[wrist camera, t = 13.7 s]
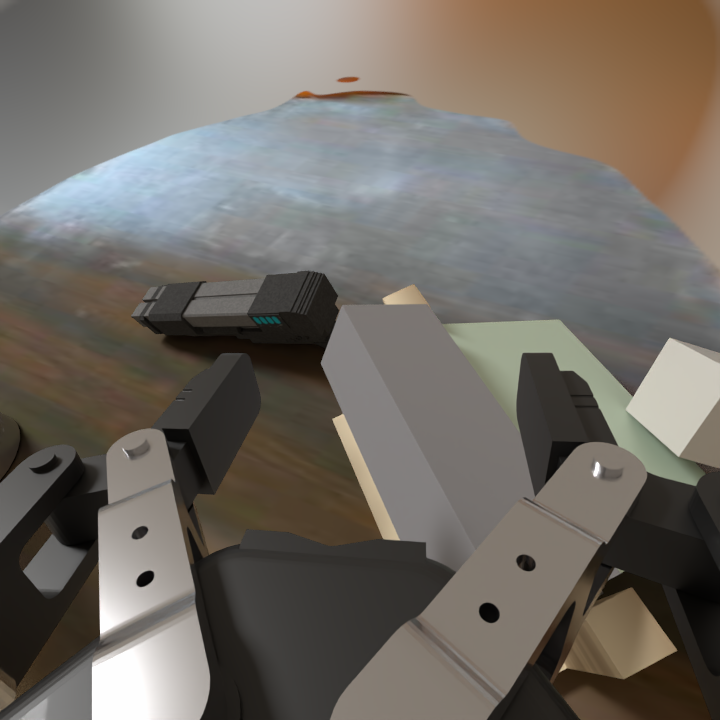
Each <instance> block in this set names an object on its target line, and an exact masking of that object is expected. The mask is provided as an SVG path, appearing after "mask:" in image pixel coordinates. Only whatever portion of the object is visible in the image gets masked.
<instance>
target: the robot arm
mask: <svg viewBox="0 0 720 720" xmlns="http://www.w3.org/2000/svg"><path fill="white" fill-rule="evenodd" d="M260 404H261V397H260V392H259V388H258V384H257V381H256V377H255V373H254V370H253V366H252V362H251V359H250V357H249V355H248V354H246V353H223V354H221V355H220V356H219V357H218V358H217V359H216V361H215V362H214V363H213V364H212V366H211V367H210V368H209V369H205V370H204V371H202V372H201V373H199V374H198V375H196V376H195V377H194V378H192V379H191V380H190V382H189V383H188V384H187V385H186V386H185V388H184V389H183V391H181V392H180V394H179V395H178V396H177V397H176V400H174V401H173V402H172V403H171V405H170V406H169V407H168V408H167V409H166V411H165V412H164V413H163V414H162V415H161V417H160V418H159V419H158V420H157V421H156V423H155V424H154V425H153V426H152V427H151V429H142V430H138V431H135V432H132V433H130V434H128V435H126V436H124V437H122V438H121V439H119V440H118V441H117V442H116V443H114V444H113V445H112V447H111V448H110V449H109V451H108V453H107V454H103V455H98V456H93V457H88V458H83V459H80V457H79V455H78V454H77V452H76V450H75V449H74V448H73V447H72V446H69V445H56V446H52V447H48V448H46V449H43V450H41V451H38V452H36V453H35V454H33V455H31V456H30V457H28V458H27V459H25V460H24V461H23V462H22V463H20V464H19V465H18V466H17V467H16V468H15V469H14V470H13V471H12V472H11V473H10V474H9V475H8V476H7V477H6V478H5V479H4V480H3V481H2V482H1V483H0V720H580V719H579V718H578V716H577V715H576V714H575V713H574V711H573V710H572V709H571V707H570V706H569V705H568V704H567V702H566V701H565V700H564V699H563V697H562V696H561V695H560V694H559V692H558V691H557V690H556V689H555V687H554V686H553V685H552V684H553V682H554V680H555V678H556V677H557V675H558V673H559V671H560V670H561V668H562V666H563V664H564V662H565V660H566V658H567V656H568V654H569V652H570V650H571V648H572V646H573V643H574V641H575V639H576V636H577V634H578V632H579V630H580V628H581V626H582V624H583V623H584V621H585V619H586V617H587V616H588V614H589V612H590V610H591V609H592V607H593V605H594V603H595V602H596V600H597V598H598V596H599V595H600V593H601V591H602V589H603V588H604V586H605V584H606V582H607V581H608V579H609V577H610V575H611V574H612V572H613V570H614V568H617V569H620V570H623V571H626V572H629V573H632V574H634V575H637V576H640V577H643V578H646V579H649V580H652V581H654V582H657V583H660V584H662V587H663V589H664V592H665V595H666V597H667V600H668V603H669V606H670V608H671V611H672V614H673V616H674V619H675V622H676V624H677V627H678V630H679V632H680V635H681V638H682V640H683V643H684V646H685V648H686V651H687V654H688V656H689V659H690V662H691V665H692V667H693V670H694V673H695V675H696V678H697V681H698V683H699V686H700V689H701V691H702V694H703V697H704V699H705V702H706V705H707V707H708V710H709V713H710V716H711V718H712V720H720V472H712V473H708V474H706V475H704V476H702V477H701V478H700V479H699V481H698V483H697V485H696V486H694V485H690V484H686V483H682V482H678V481H674V480H670V479H666V478H663V477H659V476H656V475H654V474H651V473H649V472H647V471H646V468H645V466H644V465H643V463H642V462H641V461H640V460H639V459H638V458H637V457H636V456H635V455H634V454H632V453H631V452H629V451H628V450H626V449H624V448H622V447H619V446H618V444H617V442H616V440H615V438H614V436H613V434H612V432H611V430H610V428H609V426H608V424H607V422H606V420H605V418H604V416H603V414H602V411H601V409H599V405H598V403H597V401H596V399H595V398H594V397H593V393H592V391H591V389H590V387H589V385H588V383H587V382H586V381H585V380H584V379H583V378H581V377H580V376H579V375H578V374H577V373H575V372H574V371H560V370H559V367H558V365H557V362H556V360H555V357H554V355H553V353H523V354H522V357H521V363H520V372H519V381H518V390H517V399H516V413H517V421H518V425H519V429H520V434H521V438H522V443H523V447H524V451H525V456H526V460H527V464H528V469H529V473H530V477H531V482H532V486H533V490H534V495H535V498H534V499H533V500H532V501H531V500H530V499H528V498H526V497H523V498H521V499H520V500H518V501H517V502H516V503H515V504H514V506H513V507H512V508H511V509H510V510H509V512H508V513H507V514H506V515H505V516H504V517H503V519H502V520H501V521H500V522H499V523H498V524H497V526H496V527H495V528H494V529H493V530H492V531H491V533H490V534H489V535H488V536H487V537H486V538H485V540H484V541H483V542H482V543H481V544H480V545H479V547H478V548H477V549H476V550H475V551H474V553H473V554H472V555H471V556H470V557H469V558H468V560H467V561H466V562H465V563H464V564H463V565H462V567H461V568H460V569H459V570H458V571H457V572H456V571H454V570H453V569H451V568H449V567H448V566H446V565H444V564H442V563H440V562H437V561H435V560H432V559H429V558H427V557H426V542H414V541H400V540H386V539H376V540H370V541H364V542H357V543H351V544H345V545H339V546H327V545H324V544H321V543H318V542H315V541H312V540H309V539H306V538H303V537H300V536H297V535H295V534H292V533H289V532H276V531H262V530H249V529H247V530H246V532H245V535H244V537H243V539H242V542H241V544H238V545H234V546H230V547H227V548H224V549H222V550H219V551H216V552H214V553H212V554H210V555H209V553H208V549H207V546H206V542H205V538H204V535H203V531H202V527H201V523H200V520H199V516H198V512H197V509H196V506H195V504H194V502H193V501H194V499H195V497H196V495H197V494H213V495H215V493H216V491H217V489H218V487H219V485H220V484H221V482H222V480H223V478H224V476H225V474H226V472H227V471H228V469H229V467H230V465H231V463H232V461H233V460H234V458H235V456H236V454H237V452H238V450H239V448H240V447H241V445H242V443H243V441H244V439H245V437H246V436H247V434H248V432H249V430H250V428H251V426H252V424H253V423H254V421H255V419H256V417H257V415H258V413H259V410H260ZM19 442H20V430H19V427H18V424H17V423H16V422H15V421H14V420H13V419H12V418H10V417H8V416H6V415H4V414H2V413H1V412H0V480H1V479H2V477H3V476H4V475H5V473H6V472H7V471H8V469H9V467H10V465H11V464H12V462H13V460H14V458H15V456H16V453H17V450H18V447H19ZM43 522H44V523H45V524H46V525H47V527H48V528H49V530H50V531H51V532H52V535H51V536H50V538H49V539H48V540H47V541H46V543H45V544H44V545H43V547H42V548H41V549H40V550H39V552H38V553H37V554H36V555H35V557H34V558H33V559H32V561H31V562H30V563H29V564H28V566H27V567H26V568H25V569H24V571H22V570H21V568H20V566H19V556H20V553H21V550H22V549H23V547H24V545H25V544H26V543H27V542H28V540H29V539H30V538H31V537H32V536H33V534H34V533H35V532H36V531H37V530H38V528H39V527H40V526H41V525H42V524H43ZM98 561H99V596H100V636H99V637H97V638H96V639H95V640H93V641H92V642H91V643H89V644H88V645H87V646H85V647H84V648H83V649H82V650H80V651H79V652H78V653H76V654H75V655H74V656H72V657H71V658H70V659H68V660H67V661H66V662H64V663H63V664H62V665H61V666H59V667H58V668H57V669H55V670H54V671H53V672H51V673H50V674H49V675H47V676H46V677H45V678H43V679H42V680H41V681H40V682H38V683H37V684H36V685H34V686H33V687H32V688H30V689H29V690H28V691H26V692H25V693H24V694H22V695H21V696H20V697H19V698H17V699H16V700H15V696H16V688H17V686H18V685H19V683H20V682H21V680H22V678H23V677H24V675H25V674H26V672H27V671H28V669H29V668H30V666H31V664H32V663H33V661H34V660H35V658H36V657H37V655H38V654H39V652H40V651H41V649H42V647H43V646H44V644H45V643H46V641H47V640H48V638H49V637H50V635H51V634H52V632H53V630H54V629H55V627H56V626H57V624H58V623H59V621H60V620H61V618H62V617H63V615H64V613H65V612H66V610H67V609H68V607H69V606H70V604H71V603H72V601H73V600H74V598H75V596H76V595H77V593H78V592H79V590H80V589H81V587H82V586H83V584H84V583H85V581H86V579H87V578H88V576H89V575H90V573H91V572H92V570H93V569H94V567H95V566H96V564H97V562H98ZM14 700H15V701H14Z"/></svg>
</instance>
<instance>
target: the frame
mask: <svg viewBox="0 0 720 720" xmlns="http://www.w3.org/2000/svg"><path fill="white" fill-rule="evenodd" d="M383 302H384V305H390V304H428V303H427V301H426V300H425V299H424V297H423V296H422V294H421V293H420V292H419V290H418V289H417V288H416V286H415V285H414V284H413V285H410V286H408V287H406V288H404V289H402V290H400V291H398V292H395V293H393V294H391V295H389V296H387V297H385V298H383ZM428 305H429V304H428ZM429 307H430V306H429ZM332 420H333V422H334V424H335V427H336V429H337V431H338V434H339V436H340V438H341V441H342V443H343V445H344V448H345V450H346V452H347V455H348V457H349V460H350V462H351V464H352V467H353V469H354V471H355V474H356V476H357V478H358V481H359V483H360V485H361V488H362V490H363V492H364V495H365V497H366V499H367V502H368V504H369V506H370V509H371V511H372V514H373V516H374V518H375V521H376V523H377V525H378V528H379V530H380V532H381V535H382V537H383V539H386V540H400V539H399V537H398V535H397V532H396V530H395V528H394V526H393V524H392V521H391V519H390V517H389V515H388V512H387V510H386V508H385V506H384V503H383V501H382V499H381V497H380V494H379V492H378V490H377V488H376V486H375V483H374V481H373V479H372V477H371V474H370V472H369V470H368V468H367V465H366V463H365V461H364V459H363V457H362V454H361V452H360V450H359V448H358V445H357V443H356V441H355V439H354V436H353V434H352V432H351V430H350V428H349V425H348V423H347V421H346V419H345V416H344V414H342V415H340V416H338V417H336V418H334V419H332ZM675 651H677V649H676V648H675V647H674V645H673V644H672V642H671V641H670V640H669V638H668V637H667V635H666V634H665V633H664V631H663V630H662V628H661V627H660V626H659V624H658V623H657V621H656V620H655V619H654V617H653V616H652V615H651V613H650V612H649V610H648V609H647V608H646V606H645V605H644V603H643V602H642V601H641V599H640V598H639V596H638V595H637V594H636V592H635V591H634V589H633V588H632V587H631V588H629V589H626V590H623V591H621V592H618V593H616V594H613V595H610V596H608V597H605V598H602V599H600V600H597V601H596V602H595V603H594V605H593V607H592V609H591V610H590V612H589V614H588V616H587V617H586V619H585V621H584V623H583V624H582V626H581V628H580V630H579V632H578V634H577V636H576V639H575V641H574V643H573V646H572V648H571V650H570V652H569V654H568V656H567V658H566V660H565V662H564V664H563V666H562V668H561V670H560V671H559V672H561V671H563V670H565V669H567V668H569V669H574V670H579V671H584V672H589V673H594V674H599V675H604V676H609V677H614V678H619V679H625V678H627V677H629V676H631V675H633V674H635V673H636V672H638V671H640V670H642V669H644V668H646V667H648V666H649V665H651V664H653V663H655V662H657V661H659V660H661V659H662V658H664V657H666V656H668V655H670V654H672V653H674V652H675Z"/></svg>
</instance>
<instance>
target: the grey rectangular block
mask: <svg viewBox="0 0 720 720" xmlns="http://www.w3.org/2000/svg"><path fill="white" fill-rule="evenodd" d="M626 411H627V412H629V413H630V414H631V415H632V416H633V417H634V418H635V419H636V420H638V421H639V422H640V423H641V424H642V425H643V426H644V427H645V428H647V429H648V430H649V431H650V432H651V433H652V434H653V435H654V436H656V437H657V438H658V439H659V440H660V441H661V442H662V443H663V444H665V445H666V446H667V447H668V448H669V449H670V450H671V451H672V452H674V453H675V454H676V455H677V456H678V457H681V458H684V459H688V460H691V461H695V462H698V463H702V464H706V465H709V466H713V467H716V468H720V353H717V352H714V351H711V350H708V349H705V348H701V347H698V346H695V345H692V344H689V343H685V342H682V341H679V340H676V339H672V338H669V339H668V341H667V343H666V344H665V346H664V348H663V349H662V351H661V352H660V354H659V356H658V357H657V359H656V361H655V362H654V364H653V366H652V367H651V369H650V370H649V372H648V374H647V375H646V377H645V379H644V380H643V382H642V383H641V385H640V387H639V388H638V390H637V392H636V393H635V395H634V397H633V398H632V400H631V401H630V403H629V405H628V406H627V408H626Z"/></svg>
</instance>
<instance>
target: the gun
mask: <svg viewBox="0 0 720 720" xmlns="http://www.w3.org/2000/svg"><path fill="white" fill-rule="evenodd" d="M337 297H338V295H337V293H336V292H335V290H334V289H333V287H332V285H331V284H330V282H329V281H328V279H327V277H326V276H325V274H322V273H317V272H314V271H313V272H309V271H301V272H297V273H289V274H277V275H267V276H266V278H262V279H249V280H237V281H224V282H211V283H207V282H206V281H203V282H190V283H177V284H168V285H164V286H161V287H150V289H149V290H148V292H147V293H146V295H145V296H144V298H143V299H142V300H143V301H144V302H145V303H140V304H139V305H138V307H137V308H136V310H135V311H134V312H133V314H132V315H131V317H132V318H134V319H135V320H136V321H137V322H139V323H140V324H141V325H142V326H143V327H148V328H149V329H151V330H152V331H153V332H154V333H155V334H162V333H164V334H165V335H188V336H236V337H237V338H238V339H250V340H251V341H252V342H253V343H284V344H317V345H319V346H320V347H323V348H325V349H326V348H327V345H328V342H329V339H330V337H331V334H332V331H333V329H334V326H335V323H336V321H335V319H336V317H337V314H338V312H339V310H338V308H337V307H336V305H335V302H336V299H337Z"/></svg>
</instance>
